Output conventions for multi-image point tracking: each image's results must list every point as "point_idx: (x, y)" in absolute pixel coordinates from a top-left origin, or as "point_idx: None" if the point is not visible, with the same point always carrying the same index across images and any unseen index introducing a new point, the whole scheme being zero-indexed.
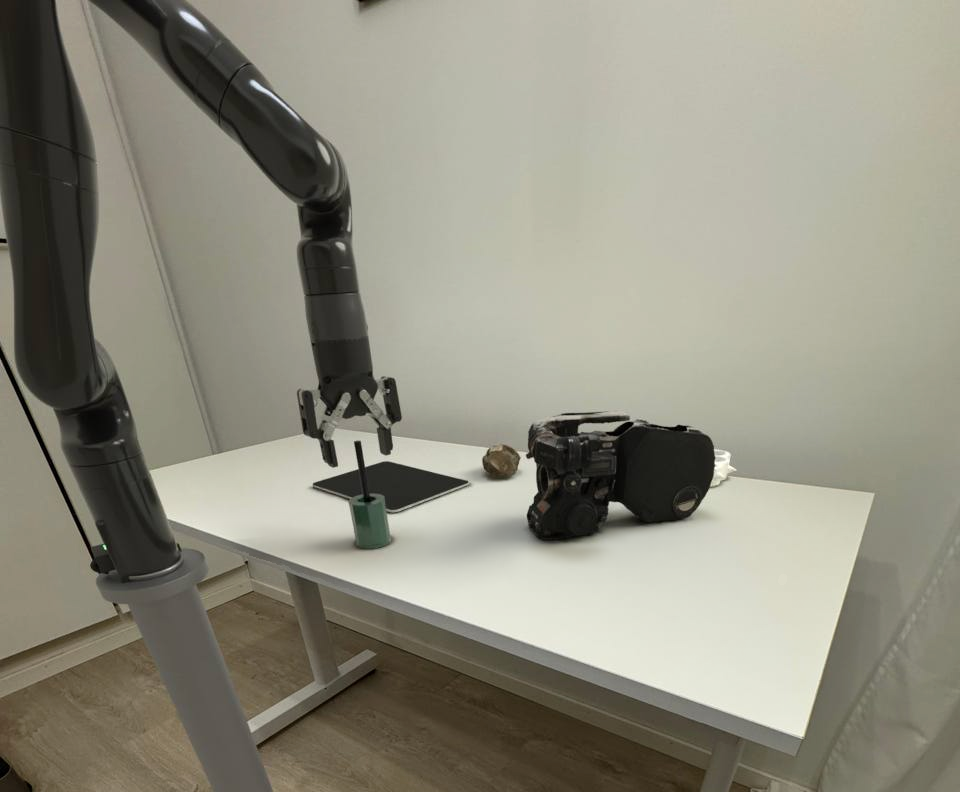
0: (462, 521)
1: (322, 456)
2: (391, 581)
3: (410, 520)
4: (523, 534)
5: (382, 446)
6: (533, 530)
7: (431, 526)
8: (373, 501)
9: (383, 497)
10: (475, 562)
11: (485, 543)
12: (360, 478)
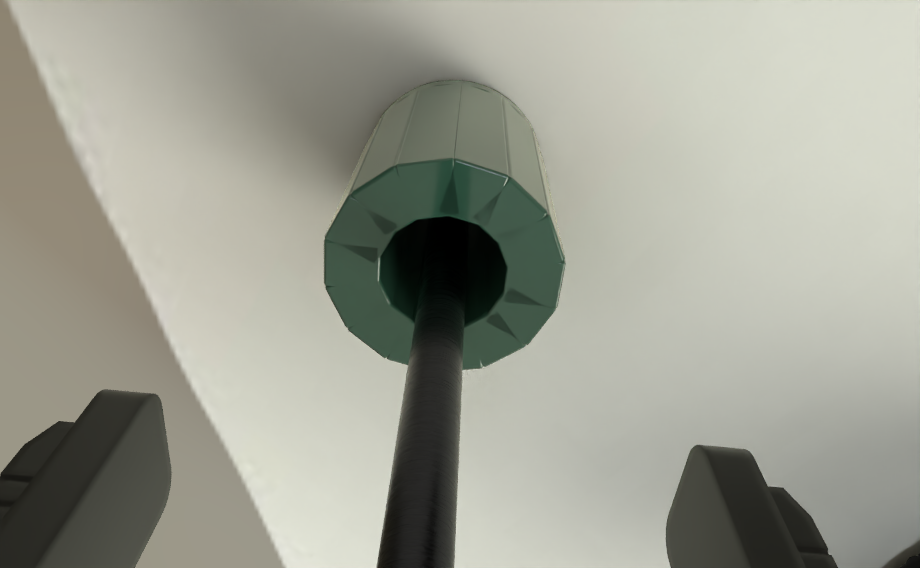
0: (908, 285)
1: (8, 467)
2: (309, 483)
3: (790, 58)
4: (884, 533)
5: (699, 547)
6: (912, 562)
7: (775, 221)
8: None
9: (536, 326)
10: (590, 559)
11: None
12: (408, 363)
